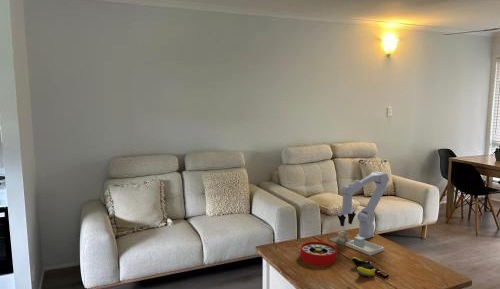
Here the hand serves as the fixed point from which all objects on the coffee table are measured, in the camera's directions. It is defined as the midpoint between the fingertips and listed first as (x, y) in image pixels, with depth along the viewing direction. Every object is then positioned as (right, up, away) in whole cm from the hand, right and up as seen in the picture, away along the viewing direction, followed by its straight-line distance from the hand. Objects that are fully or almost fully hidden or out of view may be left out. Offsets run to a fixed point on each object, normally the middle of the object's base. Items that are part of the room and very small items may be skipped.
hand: (346, 224), depth 240 cm
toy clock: (-23, -13, -28) cm, 38 cm away
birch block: (-3, -9, -3) cm, 10 cm away
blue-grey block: (+5, -10, -11) cm, 16 cm away
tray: (+7, -11, -14) cm, 20 cm away
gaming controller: (-2, -15, -44) cm, 47 cm away
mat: (-3, -10, -3) cm, 11 cm away
